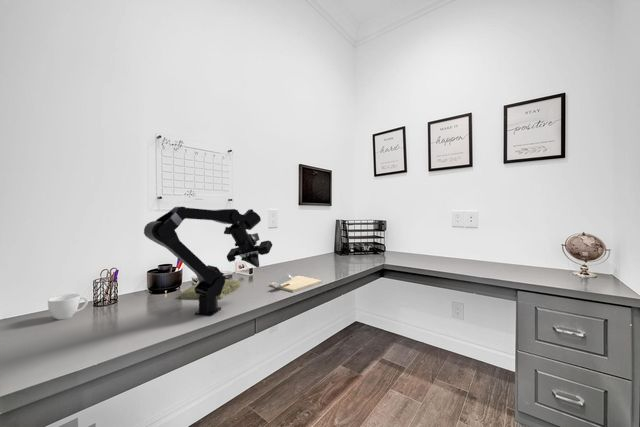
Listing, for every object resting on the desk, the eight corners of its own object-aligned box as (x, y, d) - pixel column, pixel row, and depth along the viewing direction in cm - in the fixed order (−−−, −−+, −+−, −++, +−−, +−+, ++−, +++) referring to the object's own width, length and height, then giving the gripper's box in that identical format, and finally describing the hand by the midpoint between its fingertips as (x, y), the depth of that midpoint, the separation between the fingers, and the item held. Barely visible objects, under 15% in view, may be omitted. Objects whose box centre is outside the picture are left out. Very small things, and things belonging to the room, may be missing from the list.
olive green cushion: (179, 299, 110) (179, 291, 110) (205, 285, 130) (205, 278, 130) (223, 301, 108) (223, 292, 108) (242, 286, 128) (242, 279, 128)
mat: (293, 292, 118) (293, 289, 118) (269, 285, 128) (269, 283, 128) (322, 282, 133) (322, 280, 133) (299, 277, 143) (298, 275, 143)
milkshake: (275, 292, 121) (290, 285, 129) (281, 286, 119) (296, 279, 127) (270, 284, 123) (285, 277, 131) (276, 278, 120) (290, 271, 128)
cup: (48, 317, 91) (47, 297, 91) (86, 309, 98) (86, 291, 98) (48, 324, 86) (48, 303, 86) (89, 315, 93) (89, 295, 93)
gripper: (268, 221, 111) (282, 250, 117) (229, 230, 116) (246, 258, 122) (259, 236, 101) (276, 267, 108) (218, 246, 106) (236, 275, 113)
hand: (258, 266), depth 113 cm, fingers closed
